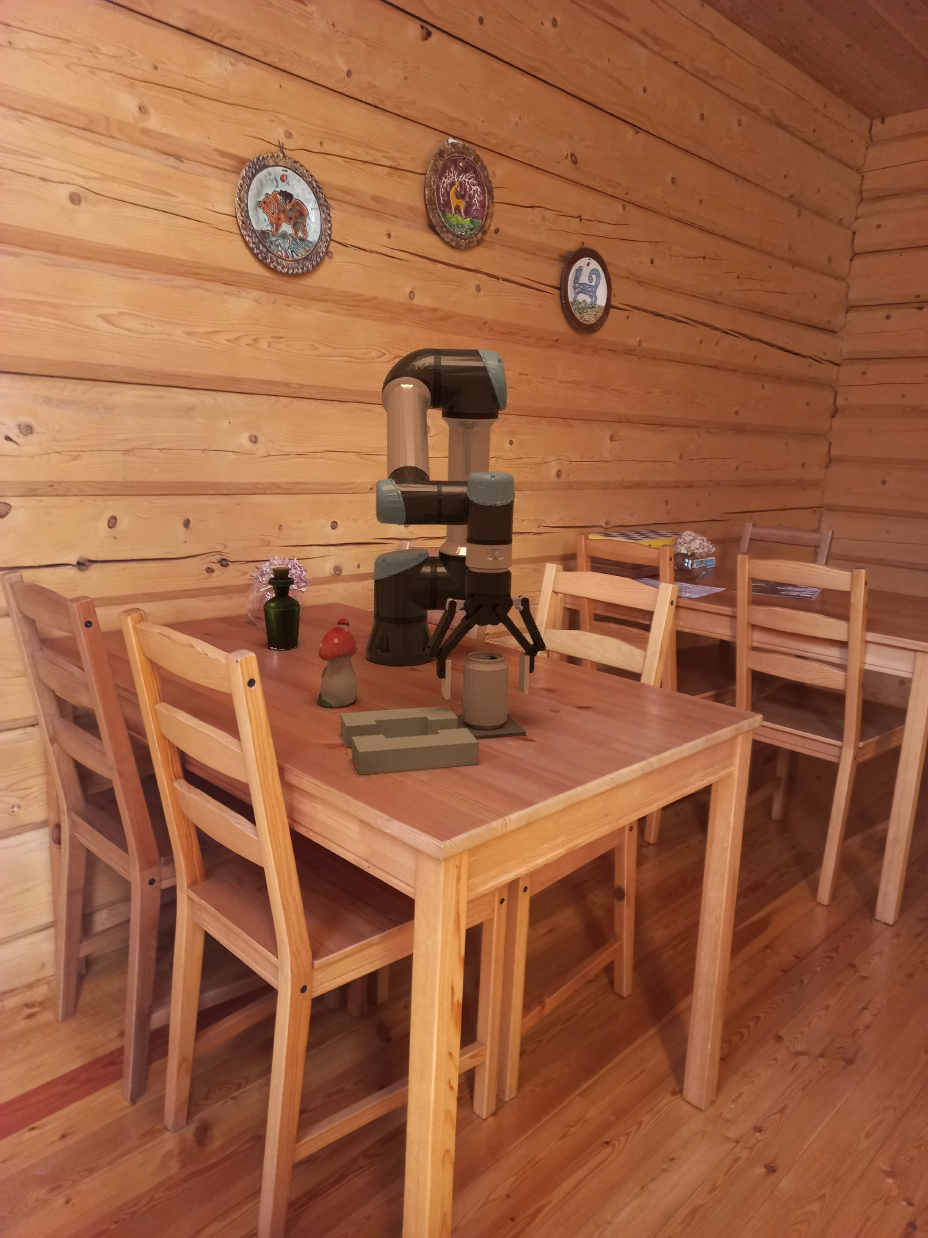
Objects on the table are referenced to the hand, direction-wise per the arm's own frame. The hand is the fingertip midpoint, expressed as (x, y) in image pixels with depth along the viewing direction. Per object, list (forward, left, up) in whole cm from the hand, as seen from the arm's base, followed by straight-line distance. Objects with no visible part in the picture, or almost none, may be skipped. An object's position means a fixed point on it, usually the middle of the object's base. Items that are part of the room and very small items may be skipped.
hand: (485, 694), depth 149 cm
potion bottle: (-62, -28, -6) cm, 68 cm away
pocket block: (+7, -15, -6) cm, 18 cm away
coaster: (0, 0, -6) cm, 6 cm away
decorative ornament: (-19, -22, -6) cm, 30 cm away
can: (0, 0, -5) cm, 5 cm away
